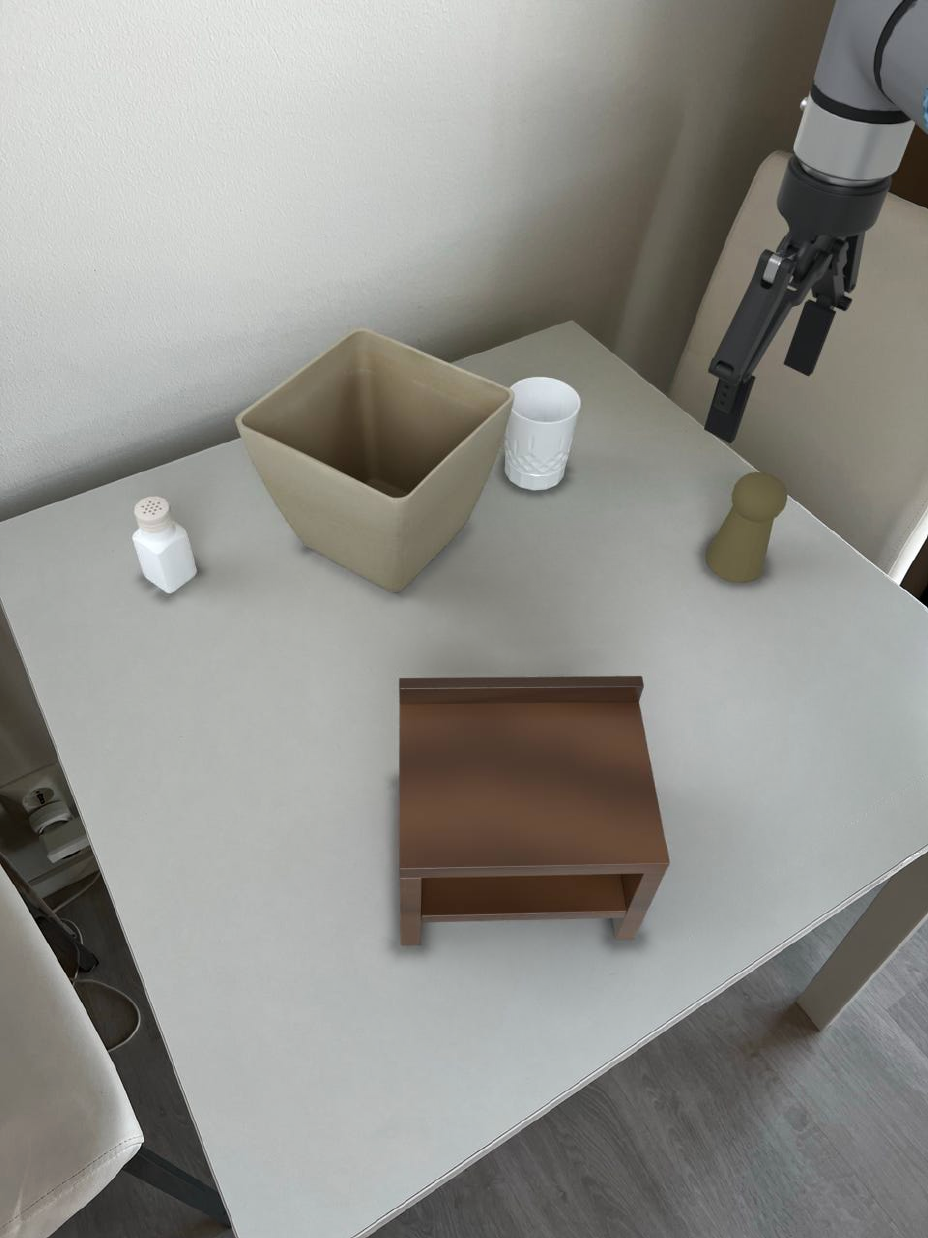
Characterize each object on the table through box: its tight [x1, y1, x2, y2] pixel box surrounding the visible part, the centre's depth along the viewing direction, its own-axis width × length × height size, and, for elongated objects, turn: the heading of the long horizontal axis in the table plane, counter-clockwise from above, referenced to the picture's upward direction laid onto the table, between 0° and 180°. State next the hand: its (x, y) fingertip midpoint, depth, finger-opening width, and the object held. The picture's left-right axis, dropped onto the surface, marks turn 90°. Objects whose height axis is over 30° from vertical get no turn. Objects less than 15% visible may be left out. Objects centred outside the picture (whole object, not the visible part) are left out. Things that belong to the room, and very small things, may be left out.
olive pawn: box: [705, 471, 788, 584], centre depth 95 cm, size 6×6×11 cm
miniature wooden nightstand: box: [398, 675, 671, 946], centre depth 71 cm, size 14×18×16 cm
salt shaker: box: [131, 496, 198, 594], centre depth 91 cm, size 4×4×10 cm
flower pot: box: [234, 326, 515, 593], centre depth 94 cm, size 19×19×17 cm
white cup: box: [503, 376, 582, 491], centre depth 104 cm, size 8×8×10 cm
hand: (759, 400), depth 85 cm, fingers open, 13 cm apart
